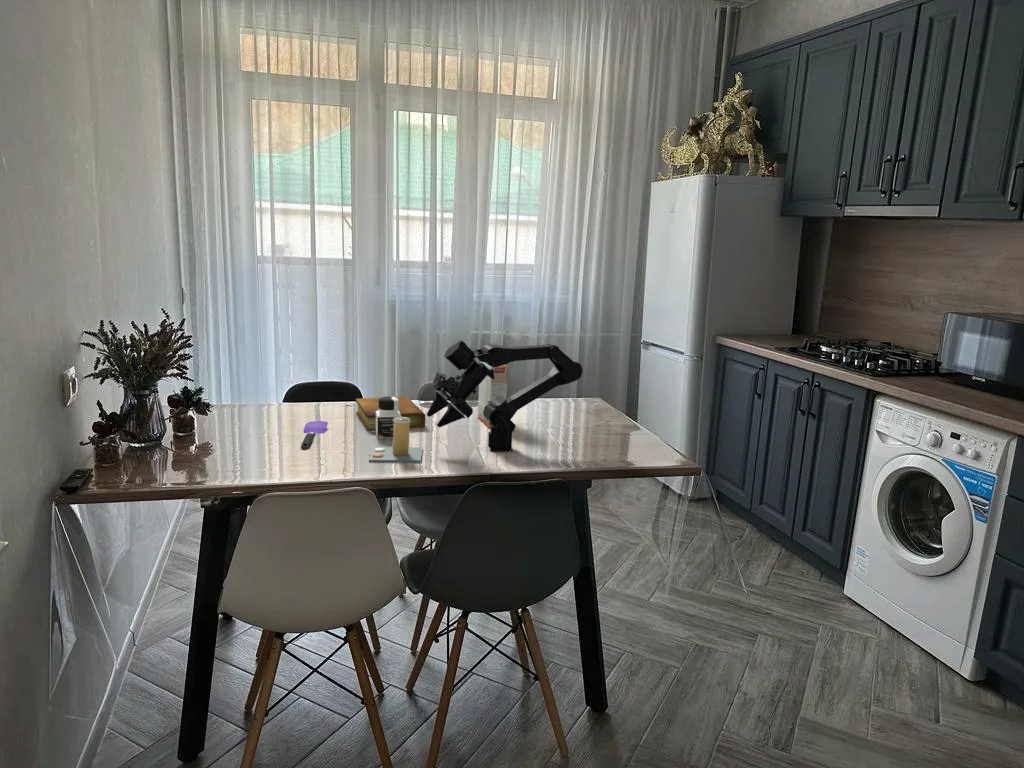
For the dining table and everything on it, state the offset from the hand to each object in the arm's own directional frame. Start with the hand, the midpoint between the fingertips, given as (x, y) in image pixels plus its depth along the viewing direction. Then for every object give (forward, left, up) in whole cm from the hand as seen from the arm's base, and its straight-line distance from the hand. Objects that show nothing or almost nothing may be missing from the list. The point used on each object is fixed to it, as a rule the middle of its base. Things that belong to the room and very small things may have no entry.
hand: (432, 421), depth 199 cm
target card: (+10, +3, -10) cm, 14 cm away
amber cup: (+9, +3, -9) cm, 13 cm away
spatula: (+37, -13, -10) cm, 40 cm away
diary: (+15, -35, -10) cm, 40 cm away
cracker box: (-19, -34, -10) cm, 40 cm away
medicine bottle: (+14, -17, -10) cm, 24 cm away
